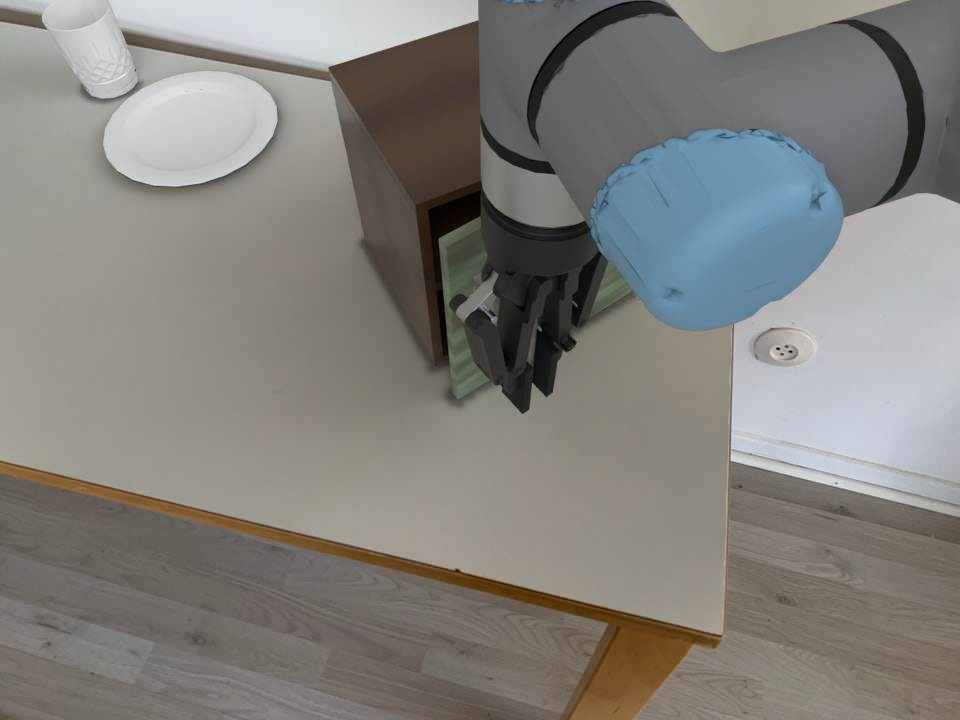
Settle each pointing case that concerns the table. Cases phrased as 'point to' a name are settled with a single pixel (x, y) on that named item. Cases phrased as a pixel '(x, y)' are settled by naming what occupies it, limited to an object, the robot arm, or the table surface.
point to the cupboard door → (463, 276)
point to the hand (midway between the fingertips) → (527, 391)
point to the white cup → (92, 45)
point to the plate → (190, 129)
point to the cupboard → (414, 161)
